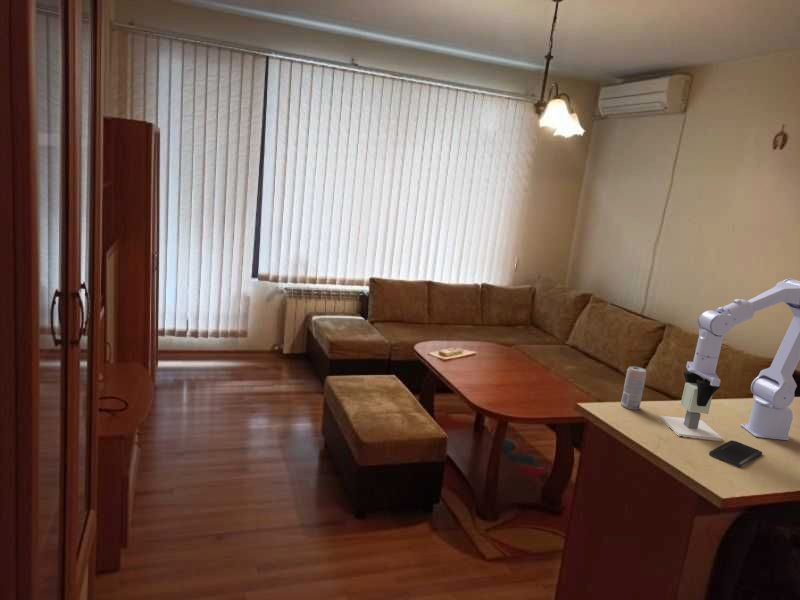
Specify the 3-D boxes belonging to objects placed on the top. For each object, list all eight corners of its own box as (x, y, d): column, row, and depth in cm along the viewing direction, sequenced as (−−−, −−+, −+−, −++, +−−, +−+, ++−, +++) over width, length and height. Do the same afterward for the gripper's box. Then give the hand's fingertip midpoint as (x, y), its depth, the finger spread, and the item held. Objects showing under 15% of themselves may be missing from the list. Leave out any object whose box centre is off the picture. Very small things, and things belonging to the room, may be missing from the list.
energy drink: (636, 404, 176) (643, 367, 174) (641, 411, 171) (649, 373, 169) (618, 402, 177) (625, 364, 174) (623, 408, 172) (630, 370, 169)
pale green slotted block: (698, 406, 163) (703, 384, 161) (708, 413, 158) (713, 391, 156) (680, 404, 163) (685, 382, 161) (689, 411, 158) (694, 389, 156)
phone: (763, 452, 150) (740, 465, 140) (762, 456, 150) (739, 469, 140) (731, 439, 156) (707, 451, 146) (730, 443, 156) (706, 455, 146)
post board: (700, 422, 167) (704, 405, 166) (722, 441, 156) (726, 422, 155) (659, 418, 167) (663, 401, 166) (678, 436, 156) (682, 418, 154)
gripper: (680, 345, 164) (670, 390, 167) (705, 361, 150) (694, 410, 153) (704, 348, 164) (694, 393, 167) (732, 364, 150) (720, 413, 153)
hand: (696, 401), depth 160 cm, fingers closed on pale green slotted block, 5 cm apart
